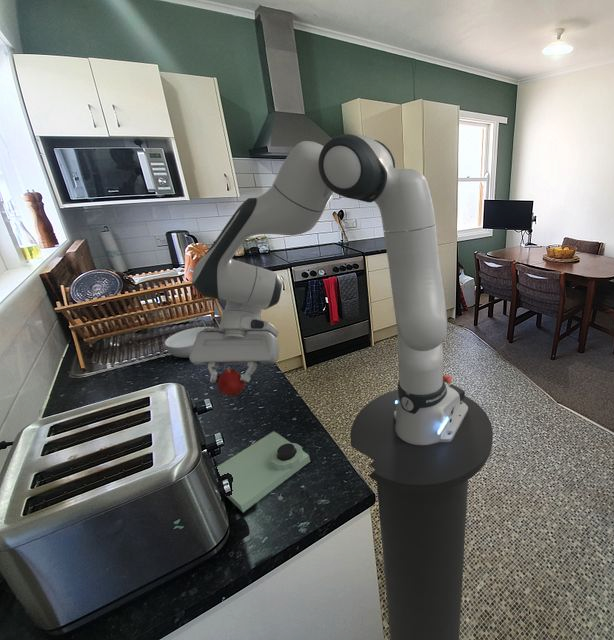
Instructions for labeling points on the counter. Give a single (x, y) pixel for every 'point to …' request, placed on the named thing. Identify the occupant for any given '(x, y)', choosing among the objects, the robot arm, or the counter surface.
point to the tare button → (286, 452)
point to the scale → (260, 469)
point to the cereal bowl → (183, 342)
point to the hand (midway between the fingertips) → (229, 382)
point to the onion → (230, 383)
